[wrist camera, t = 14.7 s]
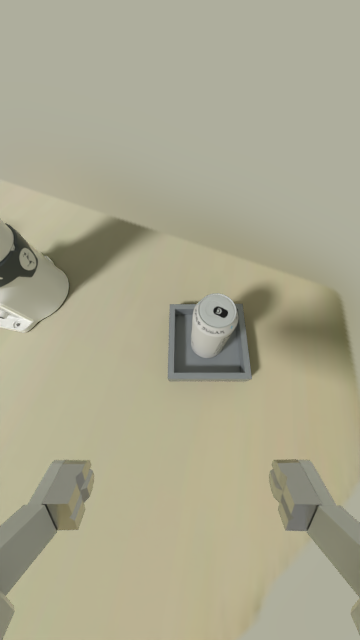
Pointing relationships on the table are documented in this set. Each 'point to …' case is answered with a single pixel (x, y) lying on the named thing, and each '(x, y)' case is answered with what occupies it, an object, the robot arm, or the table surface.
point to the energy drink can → (212, 324)
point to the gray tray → (195, 368)
